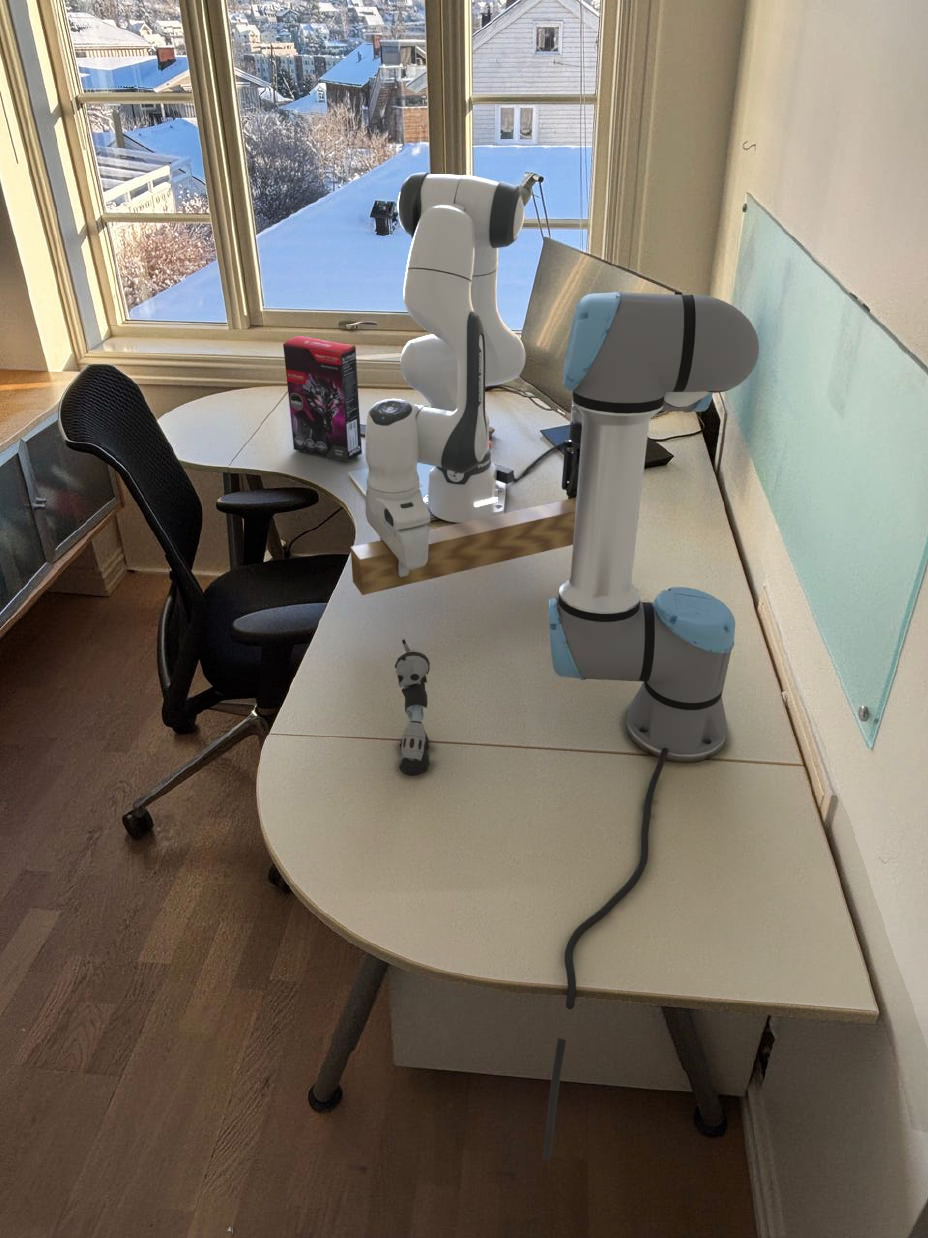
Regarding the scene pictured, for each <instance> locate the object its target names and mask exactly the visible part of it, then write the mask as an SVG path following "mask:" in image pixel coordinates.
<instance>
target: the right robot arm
mask: <svg viewBox="0 0 928 1238" xmlns="http://www.w3.org/2000/svg"><path fill="white" fill-rule="evenodd" d="M569 329H570V330H569V335H568V339H567V344H566V350H565V356H564V357H565V358H564V365H563V370H562V378H561V379H562V380H561V381H562V387H563V388H564V389H566V390H568V391H569V392H570V391H571V392H572V393H571V395H572V398H571V406H570V417H571V418H570V421H569V432H568V439H570V440H568V439H567V440H568V441H566V440H563V442H564V443H563V445H562V446H563V453H564V454H563V465H562V477H561V489H562V490H563V491H566V492H565V493H566V497H567V499H572V498H576V497H577V500H576V513H575V526H574V539H573V545H572V553H571V554H572V555H571V566H570V578H568V579H566V580H565V581H564V582H563V583H562V584H561V585H560V586H559V589H558V597H552V598H549V599H548V601H547V613H548V625H549V626H548V629H549V642H550V643H549V644H550V655H551V665H552V668H553V669H552V670H553V671H554V673H556V675H558V676H560V677H563V678H568V679H569V678H571V679H579V680H581V681H586V680H603V681H621V682H622V681H623V682H642V684H641V685H640V688H639V689H638V691H637V692H636V694H635V695H634V697H633V699H632V701H631V702H630V704H629V706H628V708H627V711H626V719H625V728H626V732H627V734H628V736H629V738H630V739H631V741H632V742H634V744H636V745H637V746H638V747H639V748H640V749H641V750H643V751H645V752H646V753H648V754H650V755H651V756H654V757H656V758H658V760H657V762H656V765H655V768H654V771H653V773H652V776H651V778H650V781H649V784H648V787H647V790H646V795H645V800H644V805H643V813H642V821H641V831H640V857H639V861H638V865H637V867H636V868H635V871H633V872H634V873H633V874H632V876H630V878H629V880H628V881H627V882H626V883H625V884H624V885H623V886H622V887H621V888H620V889H619V890H618V891H617V892H616V893H615V894H614V895H613V896H612V897H611V898H610V899H609V900H608V901H607V902H606V903H605V904H604V905H603V906H602V907H601V908H599V910H597V911H596V912H595V913H594V914H591V916H590V917H588V918H587V919H586V920H585V921H583V922H582V923H581V924H579V926H578V927H576V929H575V930H574V931H573V933H572V934H571V936H570V938H569V939H568V942H567V944H566V947H565V952H564V967H565V972H566V973H565V974H566V981H567V982H566V983H567V990H566V991H567V992H566V1001H565V1007H566V1008H567V1010H572V1009H574V1007H575V1004H576V997H577V996H576V994H577V979H576V971H575V965H574V951H575V947H576V945H577V943H578V942H579V940H580V938H581V937H582V936H583V935H584V934H585V933H586V932H587V931H588V930H589V929H590V928H591V927H593V926H594V925H595V924H597V923H598V922H600V921H601V920H602V919H603V918H605V917H606V916H607V915H608V914H609V913H610V912H611V911H612V910H613V909H614V908H615V907H616V906H617V905H618V903H620V901H622V900H623V899H624V898H625V897H626V896H627V895H628V894H629V893H630V892H631V891H632V889H633V888H634V887H635V886H636V885H637V883H638V881H640V879H641V877H642V876H643V873H644V870H645V869H646V866H647V863H648V858H649V831H650V821H651V812H652V805H653V799H654V795H655V789H656V786H657V783H658V781H659V778H660V776H661V772H662V770H663V768H664V764H665V762H666V761H670V762H675V763H694V762H700V761H703V760H706V759H709V758H711V757H714V755H716V754H718V752H720V751H721V750H722V748H723V747H724V744H725V743H726V740H727V739H726V738H727V733H728V721H727V716H726V712H725V708H724V707H725V706H724V701H723V692H724V686H725V682H726V678H727V672H728V668H729V664H730V659H731V654H732V651H733V649H734V646H735V632H736V620H735V617H734V614H733V612H732V611H731V609H730V608H729V607H728V606H727V605H726V604H725V603H724V602H723V601H722V600H720V599H718V598H717V597H715V596H714V595H712V594H710V593H708V592H705V591H702V590H699V589H696V588H691V587H686V586H685V587H684V586H674V587H673V586H672V587H669V588H667V589H664V590H662V591H660V592H659V593H658V594H657V596H656V597H655V598H654V600H653V601H652V602H651V601H641V597H642V596H641V592H640V591H639V589H638V588H637V587H636V586H635V585H634V584H633V583H632V580H633V572H634V571H633V570H634V562H635V553H636V552H635V551H636V545H637V535H638V527H639V526H638V525H639V518H640V517H639V516H640V510H641V509H640V507H641V500H642V489H643V488H642V487H643V481H644V471H645V463H646V454H647V445H648V436H649V435H648V434H649V427H650V426H649V425H650V421H651V419H652V418H653V417H654V416H656V415H655V414H657V413H658V412H659V411H665V412H680V413H681V412H683V413H693V412H694V413H695V412H697V413H698V412H705V411H707V410H708V409H709V407H710V404H711V403H712V399H713V395H714V394H718V393H719V394H721V393H724V392H727V391H730V390H732V389H734V388H736V387H737V386H740V385H741V384H742V383H743V382H744V381H745V380H747V378H748V377H749V376H750V375H751V374H752V373H753V371H754V369H755V367H756V366H757V362H758V359H759V354H760V342H759V338H758V334H757V331H756V329H755V327H754V326H753V323H752V322H751V321H750V319H749V318H748V317H747V315H745V314H744V313H743V312H741V311H740V310H739V308H737V307H735V306H734V305H732V304H730V303H729V302H726V301H724V300H723V299H719V298H717V297H714V296H709V295H704V294H671V293H670V294H669V293H647V292H643V293H642V292H623V291H622V292H621V291H614V292H598V293H588V294H585V295H584V296H583V297H582V298H581V299H579V301H578V303H577V305H576V306H575V310H574V313H573V316H572V321H571V325H570V328H569ZM657 415H658V414H657ZM566 1045H567V1039H563V1038H559V1037H558V1038H557V1042H556V1049H555V1055H554V1061H553V1067H552V1074H551V1082H550V1087H549V1089H550V1090H549V1098H548V1106H547V1116H546V1117H547V1118H546V1128H545V1137H544V1145H543V1154H542V1158H543V1159H544V1160H545V1161H550V1159H551V1158H552V1148H553V1141H554V1133H555V1132H554V1131H555V1125H556V1124H555V1122H556V1113H557V1104H558V1097H559V1091H560V1090H559V1089H560V1081H561V1075H562V1069H563V1068H562V1067H563V1063H564V1055H565V1050H566Z"/></svg>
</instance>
